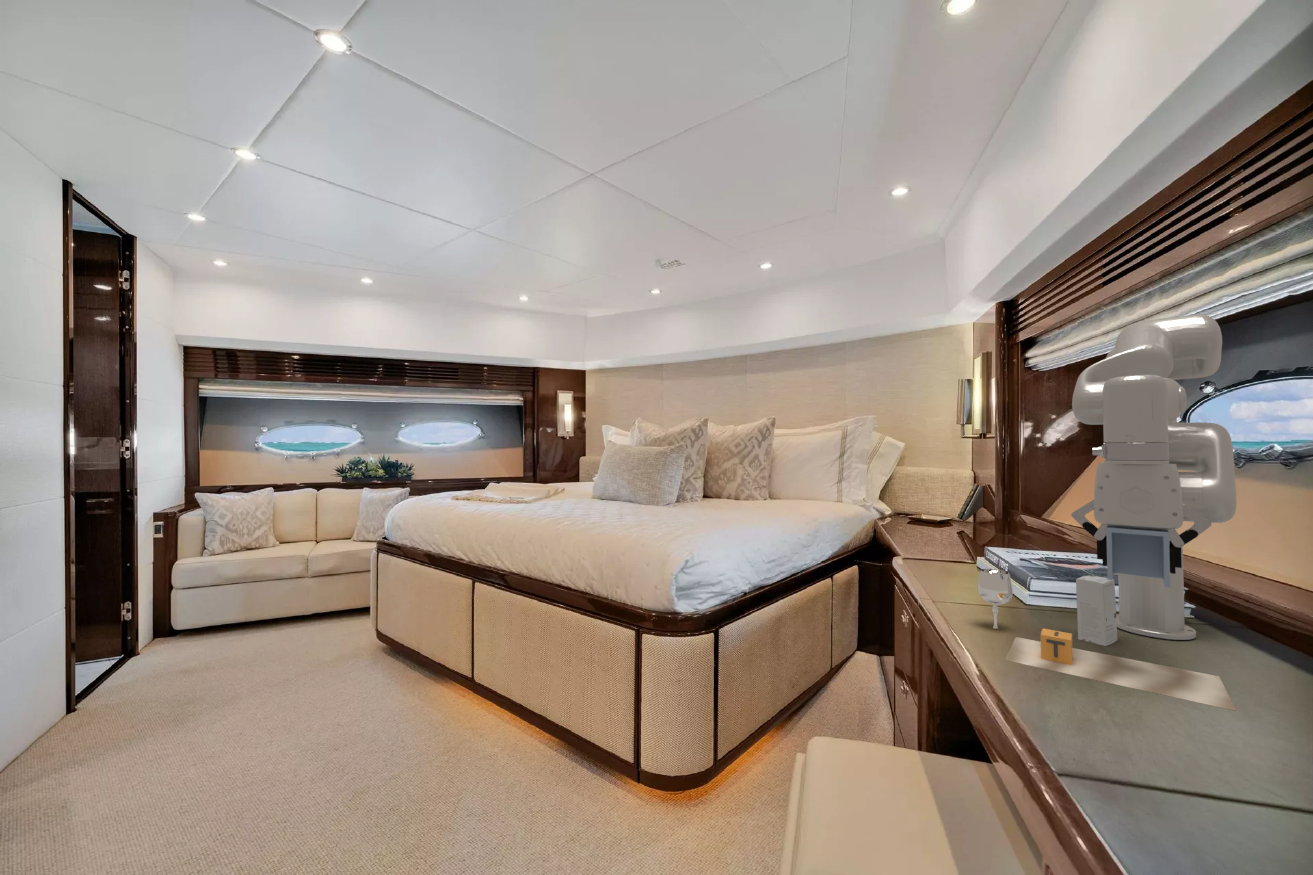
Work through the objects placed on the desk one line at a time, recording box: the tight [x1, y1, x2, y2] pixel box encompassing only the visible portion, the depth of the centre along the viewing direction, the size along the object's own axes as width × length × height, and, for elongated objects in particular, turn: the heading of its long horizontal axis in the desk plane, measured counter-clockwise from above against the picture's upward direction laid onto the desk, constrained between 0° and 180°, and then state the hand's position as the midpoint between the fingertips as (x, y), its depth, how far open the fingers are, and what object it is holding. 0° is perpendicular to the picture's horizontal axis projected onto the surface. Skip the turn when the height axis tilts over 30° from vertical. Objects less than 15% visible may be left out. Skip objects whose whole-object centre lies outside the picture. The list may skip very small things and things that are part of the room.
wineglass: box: [977, 568, 1014, 630], centre depth 103 cm, size 6×6×12 cm
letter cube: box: [1040, 628, 1073, 665], centre depth 88 cm, size 4×4×4 cm
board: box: [1004, 636, 1237, 712], centre depth 84 cm, size 26×14×1 cm, turn 49°
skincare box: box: [1075, 575, 1118, 647], centre depth 97 cm, size 6×4×12 cm
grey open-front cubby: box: [1106, 526, 1170, 587], centre depth 82 cm, size 7×7×8 cm
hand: (1137, 567), depth 82 cm, fingers closed on grey open-front cubby, 7 cm apart
